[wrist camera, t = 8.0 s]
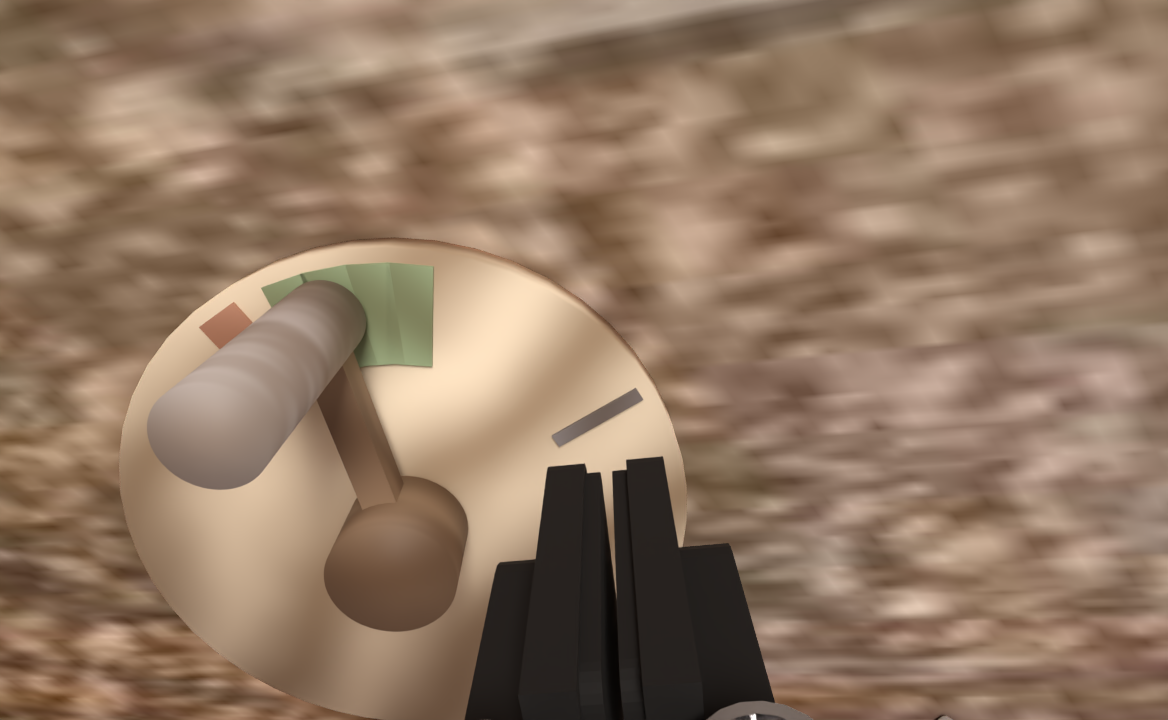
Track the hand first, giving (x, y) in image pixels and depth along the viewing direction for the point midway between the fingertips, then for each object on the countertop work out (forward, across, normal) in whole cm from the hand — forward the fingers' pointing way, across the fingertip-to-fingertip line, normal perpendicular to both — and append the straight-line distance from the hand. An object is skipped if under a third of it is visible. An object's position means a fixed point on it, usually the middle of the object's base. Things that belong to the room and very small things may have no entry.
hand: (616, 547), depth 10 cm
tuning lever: (+13, +9, +5) cm, 16 cm away
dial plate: (+15, +8, +8) cm, 19 cm away
